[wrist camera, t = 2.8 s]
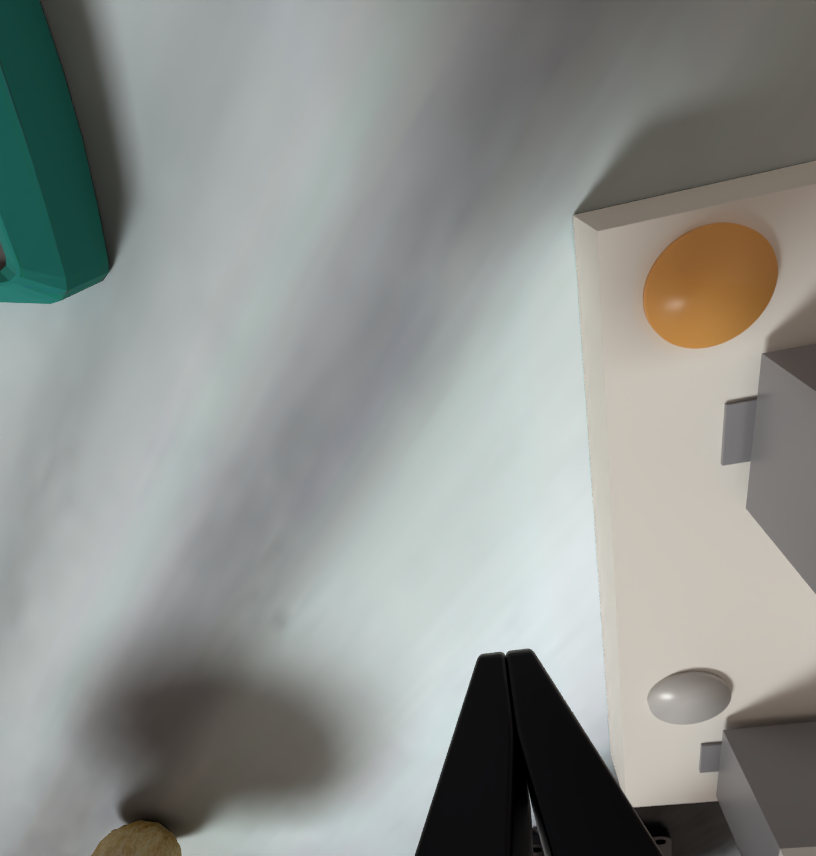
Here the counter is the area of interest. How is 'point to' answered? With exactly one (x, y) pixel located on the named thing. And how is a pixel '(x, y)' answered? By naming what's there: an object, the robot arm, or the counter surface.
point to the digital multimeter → (42, 170)
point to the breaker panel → (693, 470)
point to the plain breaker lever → (770, 788)
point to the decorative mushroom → (139, 841)
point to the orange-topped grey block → (786, 456)
